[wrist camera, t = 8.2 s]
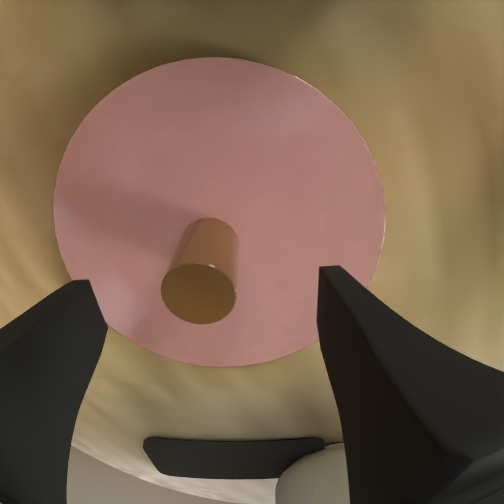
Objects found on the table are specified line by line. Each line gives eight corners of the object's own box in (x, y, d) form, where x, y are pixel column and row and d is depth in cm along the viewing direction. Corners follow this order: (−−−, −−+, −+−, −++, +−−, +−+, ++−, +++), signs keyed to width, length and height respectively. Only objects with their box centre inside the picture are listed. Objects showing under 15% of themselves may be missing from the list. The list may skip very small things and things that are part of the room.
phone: (315, 475, 25) (160, 475, 25) (314, 468, 26) (161, 468, 26) (327, 442, 21) (138, 442, 21) (325, 434, 22) (140, 434, 22)
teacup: (261, 481, 26) (268, 550, 19) (280, 433, 21) (294, 530, 14) (384, 465, 27) (402, 523, 20) (431, 412, 22) (463, 483, 15)
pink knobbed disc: (414, 110, 11) (481, 125, 7) (321, 365, 18) (334, 429, 14) (73, 53, 10) (4, 48, 6) (78, 325, 17) (47, 382, 13)
